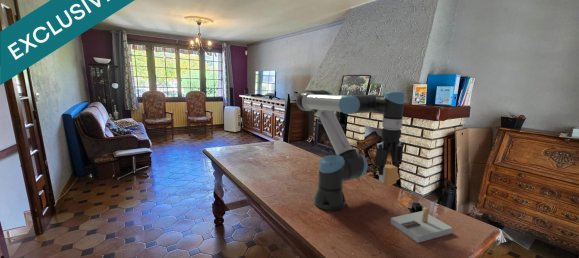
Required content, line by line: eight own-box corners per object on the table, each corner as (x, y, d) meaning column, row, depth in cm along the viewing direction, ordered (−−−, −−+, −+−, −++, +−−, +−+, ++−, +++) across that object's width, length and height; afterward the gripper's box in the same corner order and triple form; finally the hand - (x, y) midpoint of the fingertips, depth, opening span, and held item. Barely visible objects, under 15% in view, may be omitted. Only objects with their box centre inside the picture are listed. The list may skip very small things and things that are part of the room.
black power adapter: (430, 221, 109) (431, 211, 108) (413, 220, 110) (414, 210, 109) (418, 207, 121) (419, 198, 120) (402, 206, 122) (404, 197, 121)
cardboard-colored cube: (386, 184, 105) (388, 168, 104) (378, 180, 110) (380, 165, 108) (396, 183, 107) (397, 167, 106) (387, 179, 111) (389, 164, 110)
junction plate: (417, 243, 93) (419, 222, 91) (390, 223, 106) (391, 204, 104) (451, 233, 99) (454, 213, 98) (422, 215, 112) (424, 198, 111)
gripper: (380, 131, 98) (375, 186, 102) (415, 129, 104) (409, 181, 108) (368, 127, 105) (364, 180, 109) (401, 126, 111) (396, 175, 115)
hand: (386, 180), depth 108 cm, fingers closed on cardboard-colored cube, 5 cm apart
